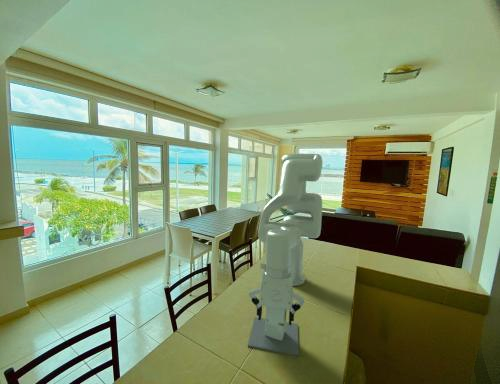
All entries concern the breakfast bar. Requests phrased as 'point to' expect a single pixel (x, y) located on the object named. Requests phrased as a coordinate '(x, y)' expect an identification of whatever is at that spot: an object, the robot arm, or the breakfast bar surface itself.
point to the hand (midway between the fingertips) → (274, 319)
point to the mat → (267, 343)
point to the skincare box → (275, 322)
